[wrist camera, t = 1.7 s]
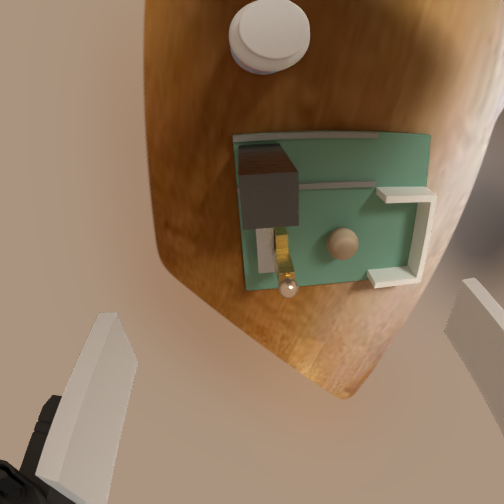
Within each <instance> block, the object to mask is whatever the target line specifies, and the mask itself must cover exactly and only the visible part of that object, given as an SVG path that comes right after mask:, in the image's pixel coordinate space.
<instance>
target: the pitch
mask: <svg viewBox="0 0 504 504" xmlns="http://www.w3.org/2000/svg"><path fill="white" fill-rule="evenodd" d="M232 137H233V147H234V159H235V171H236V182H237V194H238V205H239V217H240V228H241V239H242V250H243V261H244V272H245V283H246V291H248V290H261V289H273V288H278V286H279V285H278V279H277V274H276V269H275V272H270V273H259V271H258V259H257V244H256V229H249V230H243V224H242V213H241V201H240V189H239V177H238V146H240V145H254V144H270V143H279V144H280V145H281V147H282V148H283V150H284V151H285V153H286V154H287V156H288V157H289V158H290V160H291V161H292V163H293V165H294V166H295V168H296V169H297V171H298V179H299V226H290V227H286V230H287V233H288V249H289V252H290V256H291V260H292V263H293V267H294V270H295V280H296V281H297V283H298V285H299V286H308V285H319V284H329V283H340V282H349V281H359V280H368V279H369V278H368V277H367V270H371V269H381V268H391V267H400V266H407V264H408V259H409V254H410V248H411V243H412V237H413V231H414V225H415V218H416V211H417V204H418V202H411V203H385V202H384V201H383V200H382V199H381V198H380V197H379V196H377V195H376V187H426V183H427V174H428V164H429V153H430V139H431V135H428V134H416V133H400V132H380V131H289V132H268V133H251V134H238V135H233V136H232ZM340 227H345V228H348V229H350V230H352V231H353V232H354V233H355V234H356V236H357V238H358V249H357V252H356V253H355V254H354V256H352V257H351V258H349V259H346V260H338V259H336V258H334V257H332V256H331V255H330V253H329V252H328V250H327V246H326V241H327V237H328V235H329V234H330V233H331V232H332V231H333V230H334V229H336V228H340Z"/></svg>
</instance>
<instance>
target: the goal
mask: <svg viewBox="0 0 504 504" xmlns="http://www.w3.org/2000/svg"><path fill="white" fill-rule="evenodd" d="M376 195H377V196H379V197H380V198H381V199H382V200H383V201H384V202H385V203H411V202H418V204H417V211H416V218H415V225H414V231H413V237H412V243H411V248H410V254H409V259H408V264H407V266H400V267H391V268H381V269H371V270H367V277H368V278H369V280H370V282H371V284H372V285H373V287H374V288H382V287H390V286H398V285H406V284H414V283H420V282H421V278H422V274H423V270H424V266H425V261H426V257H427V252H428V247H429V242H430V237H431V232H432V226H433V221H434V215H435V209H436V202H437V195H436V194H435V193H434V192H432V191H431V190H429V189H428V188H426V187H376Z"/></svg>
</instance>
